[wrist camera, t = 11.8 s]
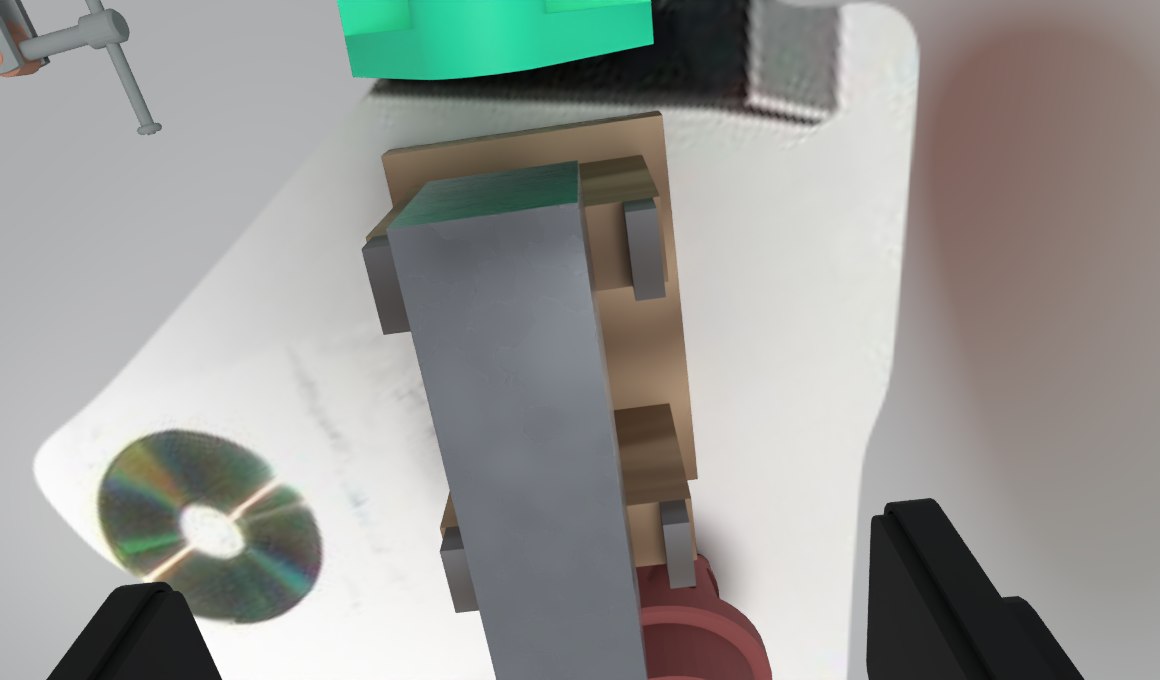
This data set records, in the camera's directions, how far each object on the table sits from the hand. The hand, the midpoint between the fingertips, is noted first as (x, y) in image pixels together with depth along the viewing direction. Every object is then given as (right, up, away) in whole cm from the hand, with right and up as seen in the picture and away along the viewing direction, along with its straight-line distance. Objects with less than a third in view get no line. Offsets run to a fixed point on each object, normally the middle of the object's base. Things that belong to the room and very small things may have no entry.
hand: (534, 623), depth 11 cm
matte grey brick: (-1, +1, +18) cm, 19 cm away
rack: (-1, +5, +27) cm, 28 cm away
